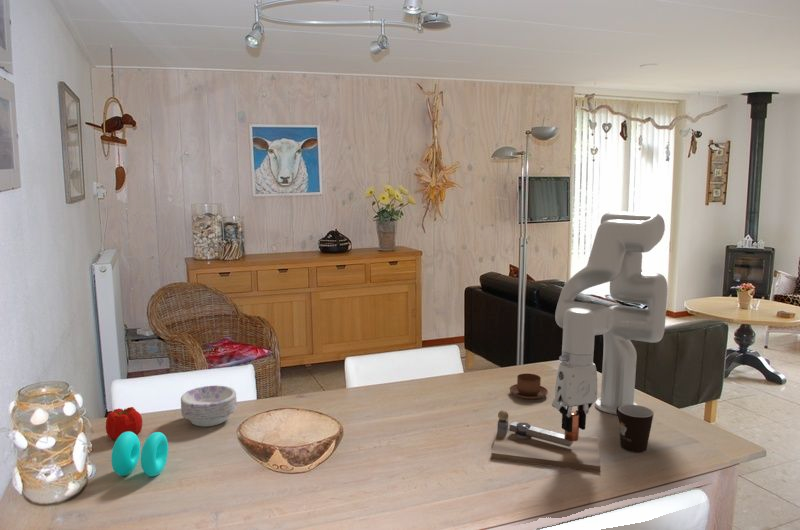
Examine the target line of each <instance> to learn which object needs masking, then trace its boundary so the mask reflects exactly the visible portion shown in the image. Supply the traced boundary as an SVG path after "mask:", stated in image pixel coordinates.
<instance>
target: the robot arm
mask: <svg viewBox="0 0 800 530" xmlns="http://www.w3.org/2000/svg"><path fill="white" fill-rule="evenodd" d="M665 229H666V225H665V220H664V217H662V215H661V214H658V213H656V212H655V213H652V212H651V213H650V212H633V211H631V212H630V211H611V212H607V213H604V214H603V215H602V216H601V219H600V224H599V226H598V228H597V230H596V232H595V233H596V234H595V235H594V241H593V243H592V246H591V250H590V254H589V257H588V261H587V265H586V266H585V267H583V268H582V269H581V270H579V271H577V272H576V273H575V274H574V275H573V276H572V277H570V278H569V279H568V280H567V281H566V283H565V284H564V286H563V287H562V289H561V291H560V295H559V298H558V301H557V305H556V309H555V313H554V314H555V315H554V317H555V322H556V324H557V326H559V328H561V329H562V344H561V347H562V348H561V355H560V356H559V357H558V359H559V362H560V363H559V365H558V369H557V374H556V379H555V388H554V389H555V390H554V398H553V401H552V403H551V407H553V408H555V409H557V411H559V413H560V414H561V428H562V430H564V431H565V430H566V431H567V432H572V423H573V417H571V412H572V411H573V407H577V410H575V412H578V413H579V414H580V417H579V430H582V431H584V430H586V422H587V415H588V414H589V410H590V408H591V407H592V405H593V404H594V405H595V407H596V408H597V409H598V410H600V411H602V412H605V413H608V414H610V415H616V416H617V413H616V410H617V407H618V406H622V405H638V403H636V402H635V385H636V372H637V371H636V370H637V358H638V357H637V355H638V354H637V350H636V347H635V345H634V344H633V342H632V341H639V342H645V343H659V342H660V341H661V340H662V339H663V337H664V334H665V330H666V329H665V328H666V318H667V317H666V316H667V305H668V304H667V303H668V292H669V291H668V281H667V278H666V277H665V276H664V275H663V274H661V273H658V272H654V271H653V272H650V271H643V270H642V265H643V253H648V252H651V251H652V249H653V248H654V247H655V246H657V245H658V244H659V243H660V242H661V240H662V239H663V237H664V234H665V232H666V231H665ZM606 283H609V295H610V297H611V298H612V299H613V300H616V301H619V302H623V303H631V304H640V305H645V306H647V308H639V307H636V306H635V307H634V306H628V305H627V306H626V305H611V306H606V305H602V304H598V303H597V304H596V303H590V302H582V301H575V299H576V297H578V296H579V294H581V293H583V291H585V290H587V289H589V288H592V287H593V288H594V287H596V286H599V285H602V284H606ZM600 335H602V337H603V347H602V348H603V351H602V352H603V353H602V354H603V355H602V369H601V385H600V386H601V387H600V397H598V372H597V367H596V366H597V365H596V364H595V363H594V354H595V353H594V351H595V336H600Z"/></svg>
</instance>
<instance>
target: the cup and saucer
mask: <svg viewBox="0 0 800 530" xmlns="http://www.w3.org/2000/svg"><path fill="white" fill-rule="evenodd" d="M541 379H542V378H541V376H540V375H537V374H534V373H520V374H518V375H517V380H516V381H517V382H516V384H513V385H511V386H510V387H509V392H510V393H511V394H512V395H513V396H515V397H517V398H520V399H525V400H538V399H542V398H545V396H547V395H548V394H549V393H548V391H549V390H548V389H547V388H546V387H544V386H542V385H541V381H542V380H541Z"/></svg>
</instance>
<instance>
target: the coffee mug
mask: <svg viewBox="0 0 800 530" xmlns="http://www.w3.org/2000/svg"><path fill="white" fill-rule="evenodd" d="M616 413H617V415H616V417H617V420H618V426H619V427H618V428H619V444H620V448H621V449H623V450H625V451H627V452H630V453H634V454H635V453H636V454H637V453H639V454H640V453H645V452H646V451H647V450H648V449H647V448H648V443H649V439H650V434H651V428H652V424H653V420H654V413H655V412H654V411H653V410H652V409H650V408H648V407H646V406H643V405H639V404H637V405H622V406H618V407H617V410H616Z"/></svg>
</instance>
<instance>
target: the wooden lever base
mask: <svg viewBox="0 0 800 530" xmlns="http://www.w3.org/2000/svg"><path fill="white" fill-rule="evenodd" d="M497 417H498V421H497V427H496V428H497V431H496V434H495V438H494V442H493V446H492V450H491V457H490V458H491V459H492V460H502V461H509V462H517V463H524V464H525V463H526V464H531V465H532V464H534V465H538V466H539V465H541V466H549V467H555V468H556V467H557V468H558V467H559V468H563V469H564V468H565V469H571V470H572V469H573V470H580V471H581V470H582V471H587V472H589V471H590V472H597V473H601V465H602V464H601V459H600V458H601V457H600V449H599V442H598V441H599V440H598V438H596V437H587V436H578V441H573V444H572V445H571V446H570V447H568V446H564V445H561V444H557V443H553V442H549V441H546V440H542V439H538V438H535V437H531V436H527V435H520V434H518V433H516V432H512V431H509V413H508V411H507V410H505V409H502V410H500V411H498V413H497Z"/></svg>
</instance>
